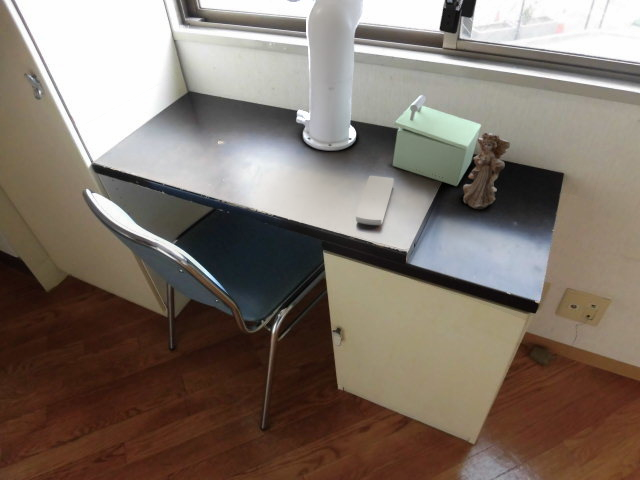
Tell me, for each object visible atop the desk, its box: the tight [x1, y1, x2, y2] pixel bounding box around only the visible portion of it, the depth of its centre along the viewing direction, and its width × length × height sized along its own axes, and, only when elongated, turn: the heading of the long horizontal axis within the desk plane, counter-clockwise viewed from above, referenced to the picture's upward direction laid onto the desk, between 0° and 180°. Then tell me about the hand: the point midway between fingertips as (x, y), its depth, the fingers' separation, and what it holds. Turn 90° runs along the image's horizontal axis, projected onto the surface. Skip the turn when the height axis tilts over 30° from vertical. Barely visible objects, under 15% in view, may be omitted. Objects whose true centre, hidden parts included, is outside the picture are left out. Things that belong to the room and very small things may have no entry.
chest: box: [392, 127, 481, 187], centre depth 102 cm, size 15×10×9 cm
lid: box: [394, 94, 482, 150], centre depth 97 cm, size 15×10×4 cm, turn 60°
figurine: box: [462, 131, 511, 210], centre depth 91 cm, size 7×6×15 cm
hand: (456, 23), depth 89 cm, fingers open, 9 cm apart
